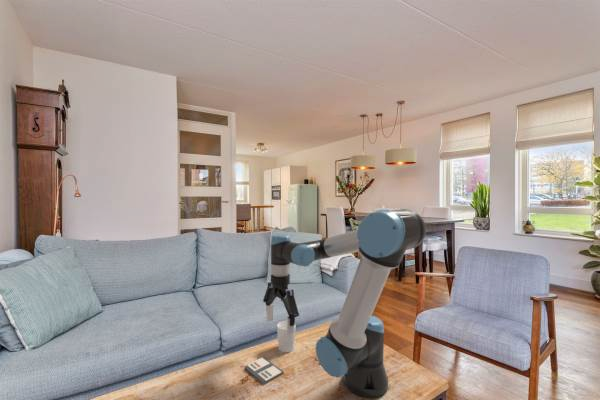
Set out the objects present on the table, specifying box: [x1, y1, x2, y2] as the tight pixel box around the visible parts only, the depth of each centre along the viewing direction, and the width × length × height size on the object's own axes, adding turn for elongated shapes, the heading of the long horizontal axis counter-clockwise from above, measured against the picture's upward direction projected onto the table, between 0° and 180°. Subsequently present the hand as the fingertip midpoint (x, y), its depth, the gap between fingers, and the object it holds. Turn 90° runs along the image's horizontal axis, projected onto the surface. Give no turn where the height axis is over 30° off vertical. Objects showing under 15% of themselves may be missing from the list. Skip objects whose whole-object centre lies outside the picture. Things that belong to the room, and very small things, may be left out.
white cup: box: [276, 320, 297, 353], centre depth 121 cm, size 8×8×10 cm
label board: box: [244, 357, 285, 386], centre depth 105 cm, size 12×9×1 cm
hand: (279, 326), depth 114 cm, fingers open, 13 cm apart
